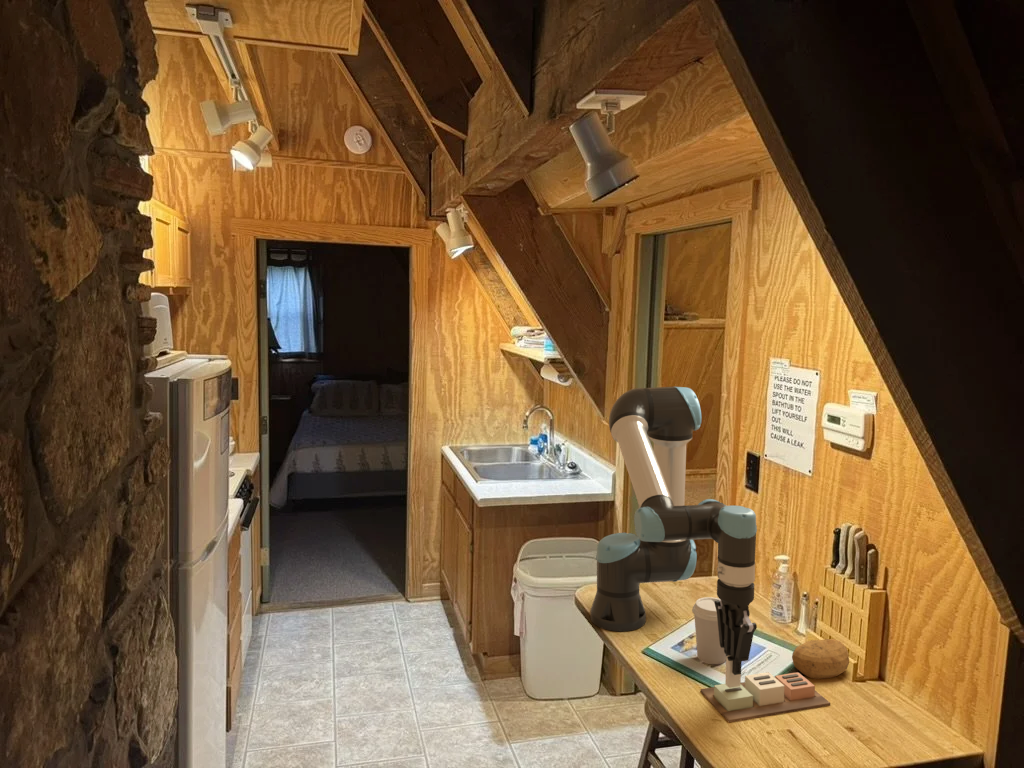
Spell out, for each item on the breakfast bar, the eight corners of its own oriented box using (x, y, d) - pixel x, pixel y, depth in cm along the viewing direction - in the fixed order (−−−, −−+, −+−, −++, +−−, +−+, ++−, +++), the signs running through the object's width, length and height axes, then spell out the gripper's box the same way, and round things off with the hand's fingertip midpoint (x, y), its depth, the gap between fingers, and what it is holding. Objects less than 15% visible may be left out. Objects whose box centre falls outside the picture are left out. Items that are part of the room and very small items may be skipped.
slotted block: (713, 702, 155) (714, 684, 154) (737, 698, 156) (738, 680, 156) (727, 717, 149) (728, 698, 149) (752, 713, 151) (753, 694, 150)
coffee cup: (734, 674, 167) (735, 614, 165) (692, 671, 169) (693, 611, 167) (730, 654, 176) (731, 597, 174) (690, 651, 178) (691, 594, 176)
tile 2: (744, 692, 157) (745, 674, 156) (768, 689, 158) (768, 670, 157) (759, 707, 151) (760, 688, 150) (783, 703, 152) (784, 684, 152)
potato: (779, 671, 168) (780, 639, 167) (828, 661, 172) (829, 629, 171) (808, 692, 159) (809, 658, 158) (859, 681, 163) (860, 648, 162)
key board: (700, 697, 158) (700, 689, 157) (795, 682, 163) (795, 674, 163) (728, 729, 146) (728, 720, 146) (830, 711, 152) (830, 702, 151)
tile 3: (774, 692, 158) (775, 674, 158) (797, 688, 160) (798, 670, 159) (790, 707, 153) (791, 688, 152) (814, 703, 154) (814, 684, 154)
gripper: (704, 570, 155) (702, 672, 158) (736, 595, 142) (733, 704, 145) (735, 567, 157) (732, 667, 160) (769, 590, 144) (765, 699, 147)
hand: (732, 685), depth 152 cm, fingers closed
